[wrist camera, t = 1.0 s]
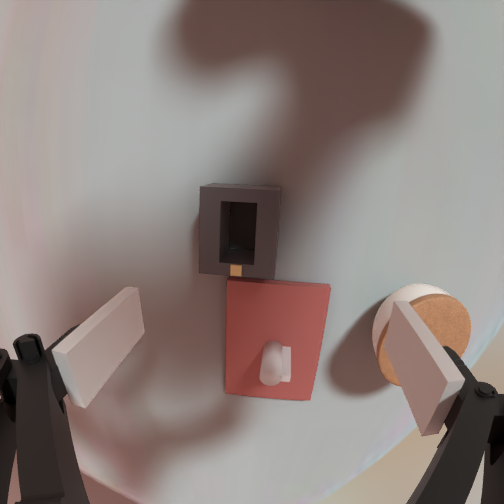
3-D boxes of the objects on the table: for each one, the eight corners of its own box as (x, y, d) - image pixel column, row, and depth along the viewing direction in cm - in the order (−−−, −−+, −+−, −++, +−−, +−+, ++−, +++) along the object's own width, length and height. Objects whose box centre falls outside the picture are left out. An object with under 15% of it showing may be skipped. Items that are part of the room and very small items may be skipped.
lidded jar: (363, 357, 35) (380, 408, 26) (359, 279, 32) (382, 319, 23) (439, 339, 33) (469, 381, 24) (443, 262, 31) (484, 293, 22)
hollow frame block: (212, 183, 31) (199, 186, 26) (281, 186, 31) (280, 190, 26) (211, 257, 33) (198, 273, 28) (276, 262, 33) (274, 280, 28)
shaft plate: (228, 276, 34) (215, 302, 27) (329, 284, 33) (338, 311, 26) (227, 387, 38) (217, 422, 32) (309, 394, 37) (311, 430, 31)
